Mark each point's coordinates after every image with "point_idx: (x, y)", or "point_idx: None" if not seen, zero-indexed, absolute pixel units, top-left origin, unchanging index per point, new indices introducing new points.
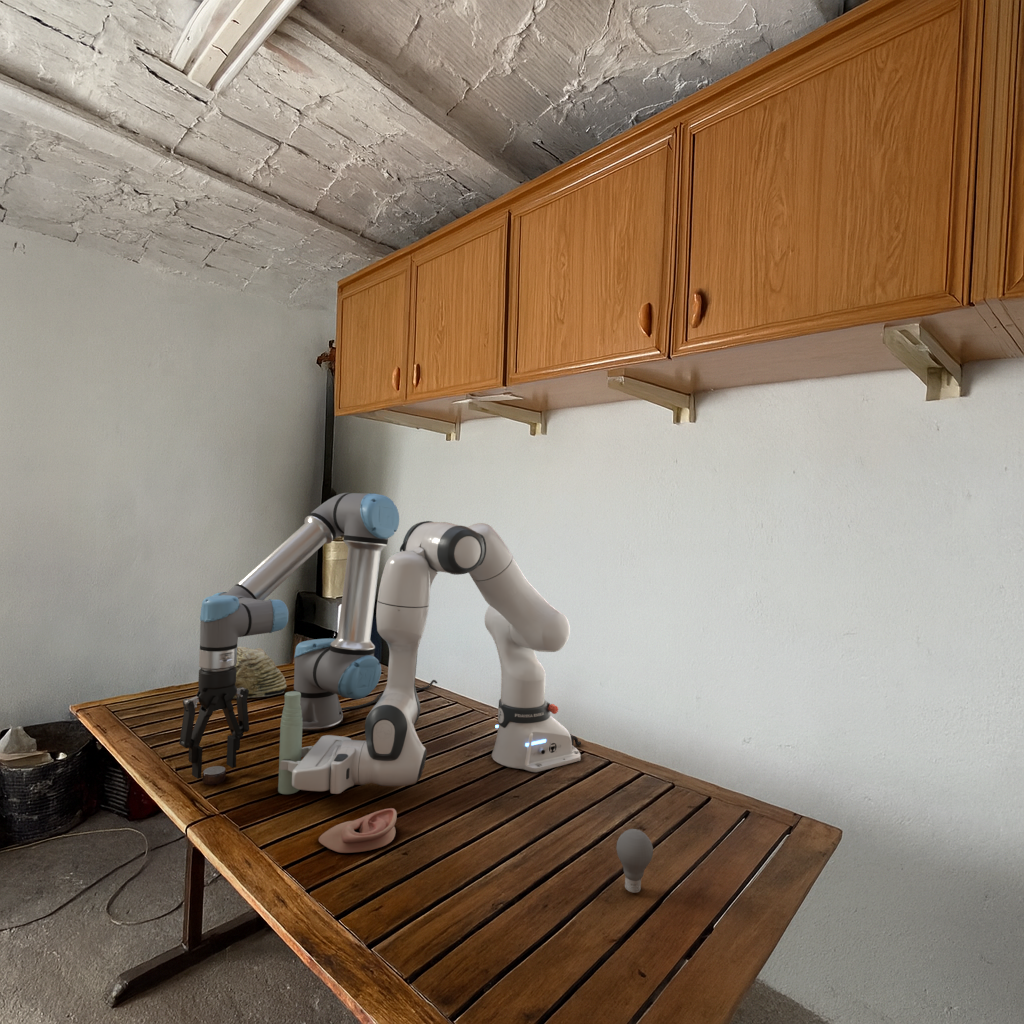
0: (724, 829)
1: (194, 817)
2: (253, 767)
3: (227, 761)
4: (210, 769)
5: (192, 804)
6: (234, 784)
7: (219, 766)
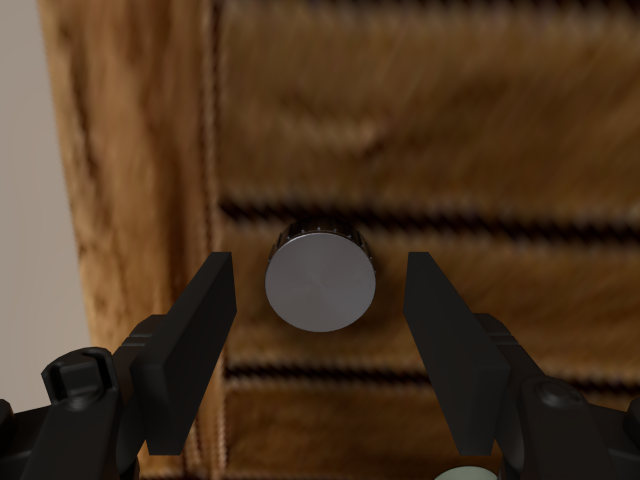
0: None
1: (147, 460)
2: (524, 256)
3: (412, 268)
4: (310, 262)
5: None
6: (361, 348)
7: (363, 259)
